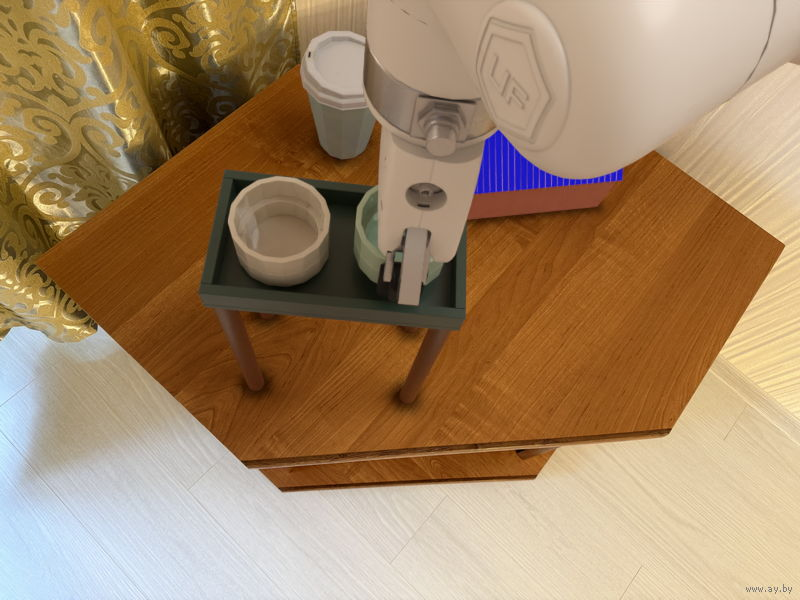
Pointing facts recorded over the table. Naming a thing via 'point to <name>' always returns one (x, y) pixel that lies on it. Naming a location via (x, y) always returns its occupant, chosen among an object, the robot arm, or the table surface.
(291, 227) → the dish
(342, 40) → the disposable coffee cup
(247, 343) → the tray
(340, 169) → the table surface
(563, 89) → the robot arm
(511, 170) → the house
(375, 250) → the dish
